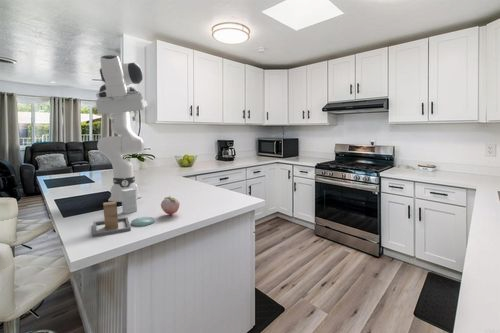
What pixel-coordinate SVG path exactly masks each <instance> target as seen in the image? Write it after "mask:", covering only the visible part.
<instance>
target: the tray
mask: <svg viewBox="0 0 500 333" xmlns="http://www.w3.org/2000/svg"><path fill="white" fill-rule="evenodd" d="M120 222H125V224H126V227H122V228H118V229H112V230H105V231H99V232H98V231H97V226H98V225H105V220H99V221H93V224H92V225H93V227H92V238H94V237H95V238H96V237H100V236H107V235H111V234H113V235H114V234H119V233H124V232H130V231H131V230H132V229H131V225H130V222H129V218H128V216H126V217H120V218H119V217H118V223H120Z"/></svg>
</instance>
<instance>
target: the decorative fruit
mask: <svg viewBox="0 0 500 333" xmlns="http://www.w3.org/2000/svg"><path fill="white" fill-rule="evenodd" d="M180 204H181V203H180V201H179V200H178V199H177V198H175V197H171V196H167V197H164V199H163V200H162V201H161V203H160V208H161V209H162V211H163V212H164V213H165V214H167V215H169V216H173V215H174V214H176V213H177V212H178V211H179V209H180V207H181V206H180Z"/></svg>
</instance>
